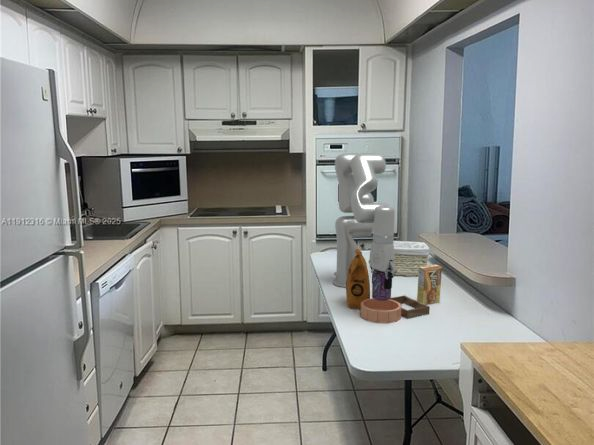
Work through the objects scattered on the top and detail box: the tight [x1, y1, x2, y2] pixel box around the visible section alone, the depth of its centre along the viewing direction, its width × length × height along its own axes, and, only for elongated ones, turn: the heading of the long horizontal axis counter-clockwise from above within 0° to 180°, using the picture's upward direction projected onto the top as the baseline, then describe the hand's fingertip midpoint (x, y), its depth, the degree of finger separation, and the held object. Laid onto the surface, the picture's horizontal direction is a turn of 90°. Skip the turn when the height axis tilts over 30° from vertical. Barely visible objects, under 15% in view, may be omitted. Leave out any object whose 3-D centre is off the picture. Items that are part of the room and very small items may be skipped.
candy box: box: [416, 264, 443, 305], centre depth 203 cm, size 9×4×15 cm, turn 116°
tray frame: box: [390, 294, 431, 320], centre depth 195 cm, size 15×11×3 cm
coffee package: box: [345, 248, 371, 310], centre depth 200 cm, size 10×12×22 cm
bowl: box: [359, 297, 403, 324], centre depth 189 cm, size 15×15×4 cm
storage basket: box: [393, 240, 430, 277], centre depth 248 cm, size 24×16×15 cm
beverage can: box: [371, 268, 392, 301], centre depth 187 cm, size 7×7×12 cm
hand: (381, 285), depth 187 cm, fingers closed on beverage can, 6 cm apart
